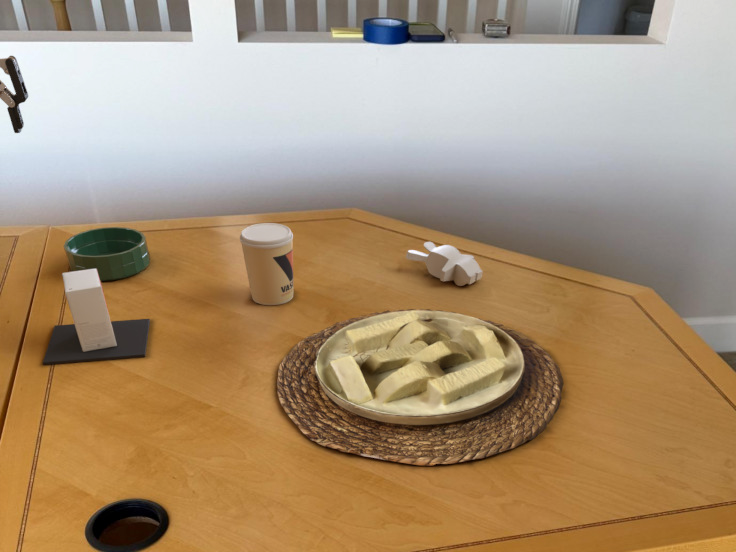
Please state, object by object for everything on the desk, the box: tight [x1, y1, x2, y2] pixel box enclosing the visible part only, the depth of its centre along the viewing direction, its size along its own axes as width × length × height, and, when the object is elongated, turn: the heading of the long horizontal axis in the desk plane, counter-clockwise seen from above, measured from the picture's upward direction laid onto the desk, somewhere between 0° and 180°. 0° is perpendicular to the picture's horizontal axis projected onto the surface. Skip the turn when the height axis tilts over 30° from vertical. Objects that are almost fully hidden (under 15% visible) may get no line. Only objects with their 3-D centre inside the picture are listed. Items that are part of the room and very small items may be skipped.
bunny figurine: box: [405, 241, 484, 287], centre depth 150 cm, size 10×5×15 cm
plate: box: [276, 308, 564, 467], centre depth 120 cm, size 45×45×7 cm
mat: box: [42, 318, 151, 366], centre depth 130 cm, size 16×13×1 cm
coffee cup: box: [239, 222, 294, 306], centre depth 140 cm, size 9×9×12 cm
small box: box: [61, 269, 117, 352], centre depth 127 cm, size 8×6×10 cm
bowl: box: [63, 226, 151, 282], centre depth 152 cm, size 15×15×5 cm
